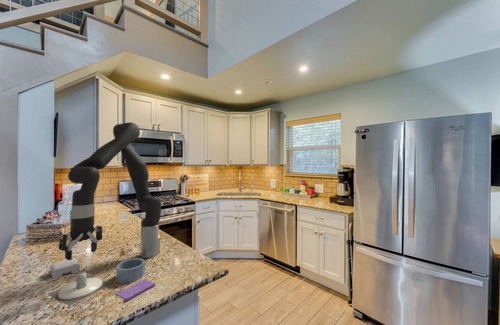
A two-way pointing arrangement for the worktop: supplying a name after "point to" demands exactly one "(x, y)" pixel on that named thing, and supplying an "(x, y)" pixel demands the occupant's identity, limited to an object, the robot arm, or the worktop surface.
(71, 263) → the charger
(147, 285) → the sponges
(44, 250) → the worktop surface
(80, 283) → the lid
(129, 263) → the bowl
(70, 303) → the mat
